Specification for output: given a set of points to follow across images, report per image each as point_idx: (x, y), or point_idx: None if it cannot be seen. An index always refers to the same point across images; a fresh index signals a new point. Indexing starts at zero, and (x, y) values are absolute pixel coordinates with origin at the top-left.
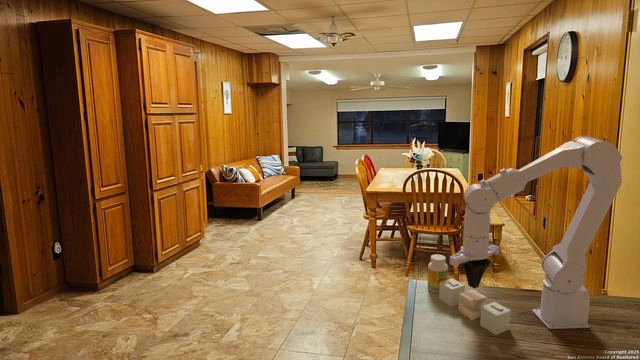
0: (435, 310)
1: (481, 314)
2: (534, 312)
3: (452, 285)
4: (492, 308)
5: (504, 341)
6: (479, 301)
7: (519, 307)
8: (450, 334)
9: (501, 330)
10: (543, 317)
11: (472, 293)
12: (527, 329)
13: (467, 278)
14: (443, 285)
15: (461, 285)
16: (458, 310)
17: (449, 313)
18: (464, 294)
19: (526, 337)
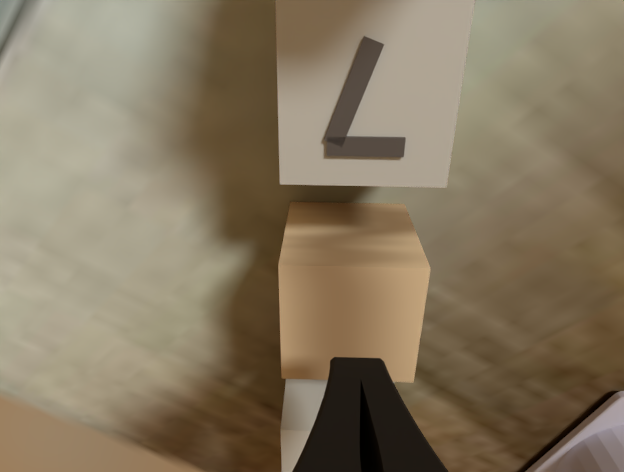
0: (163, 117)
1: (285, 392)
2: (603, 409)
3: (332, 139)
4: None
5: None
6: None
7: (615, 338)
8: (102, 323)
9: None
10: (569, 463)
11: (373, 309)
12: (444, 443)
13: (322, 408)
14: (277, 64)
15: (412, 177)
16: (290, 205)
17: (224, 190)
18: (305, 292)
19: None
